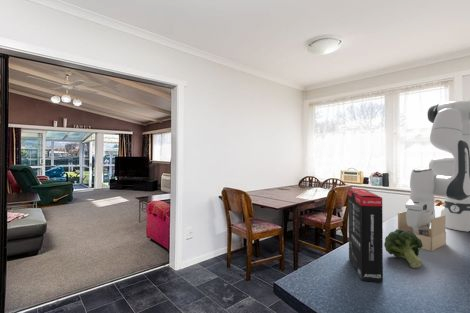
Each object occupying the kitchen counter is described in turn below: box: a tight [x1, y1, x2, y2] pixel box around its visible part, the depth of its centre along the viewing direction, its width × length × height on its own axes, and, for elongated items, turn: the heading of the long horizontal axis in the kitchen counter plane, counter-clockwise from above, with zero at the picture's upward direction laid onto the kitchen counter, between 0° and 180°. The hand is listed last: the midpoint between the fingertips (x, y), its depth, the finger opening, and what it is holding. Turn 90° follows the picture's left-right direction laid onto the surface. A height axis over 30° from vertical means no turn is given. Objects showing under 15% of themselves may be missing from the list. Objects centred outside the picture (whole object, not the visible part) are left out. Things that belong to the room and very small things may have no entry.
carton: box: [397, 210, 447, 252], centre depth 110 cm, size 15×13×13 cm
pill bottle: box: [419, 223, 429, 237], centre depth 110 cm, size 5×5×10 cm
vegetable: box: [383, 228, 423, 269], centre depth 92 cm, size 12×13×15 cm
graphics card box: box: [347, 188, 384, 283], centre depth 84 cm, size 17×7×27 cm, turn 168°
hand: (421, 234), depth 110 cm, fingers open, 8 cm apart
